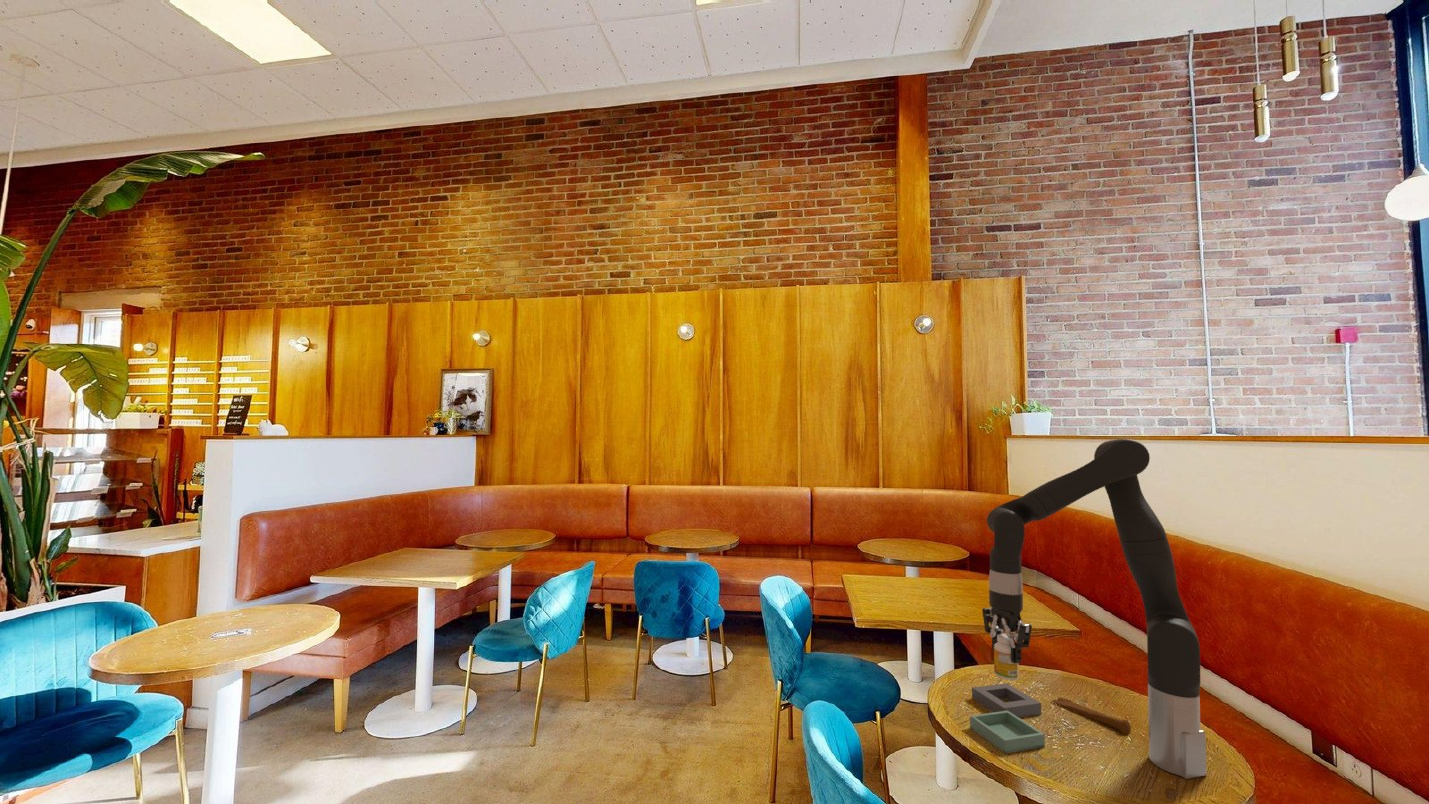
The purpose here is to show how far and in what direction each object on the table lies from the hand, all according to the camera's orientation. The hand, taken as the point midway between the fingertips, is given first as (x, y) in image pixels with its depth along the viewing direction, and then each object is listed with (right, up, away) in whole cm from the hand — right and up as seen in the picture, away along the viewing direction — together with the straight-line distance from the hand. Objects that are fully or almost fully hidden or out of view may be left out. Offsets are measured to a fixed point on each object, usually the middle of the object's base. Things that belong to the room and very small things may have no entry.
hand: (1006, 657), depth 139 cm
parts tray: (-1, -19, -1) cm, 19 cm away
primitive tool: (+27, -21, +11) cm, 36 cm away
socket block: (+8, -20, +15) cm, 26 cm away
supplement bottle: (0, -5, 0) cm, 5 cm away
